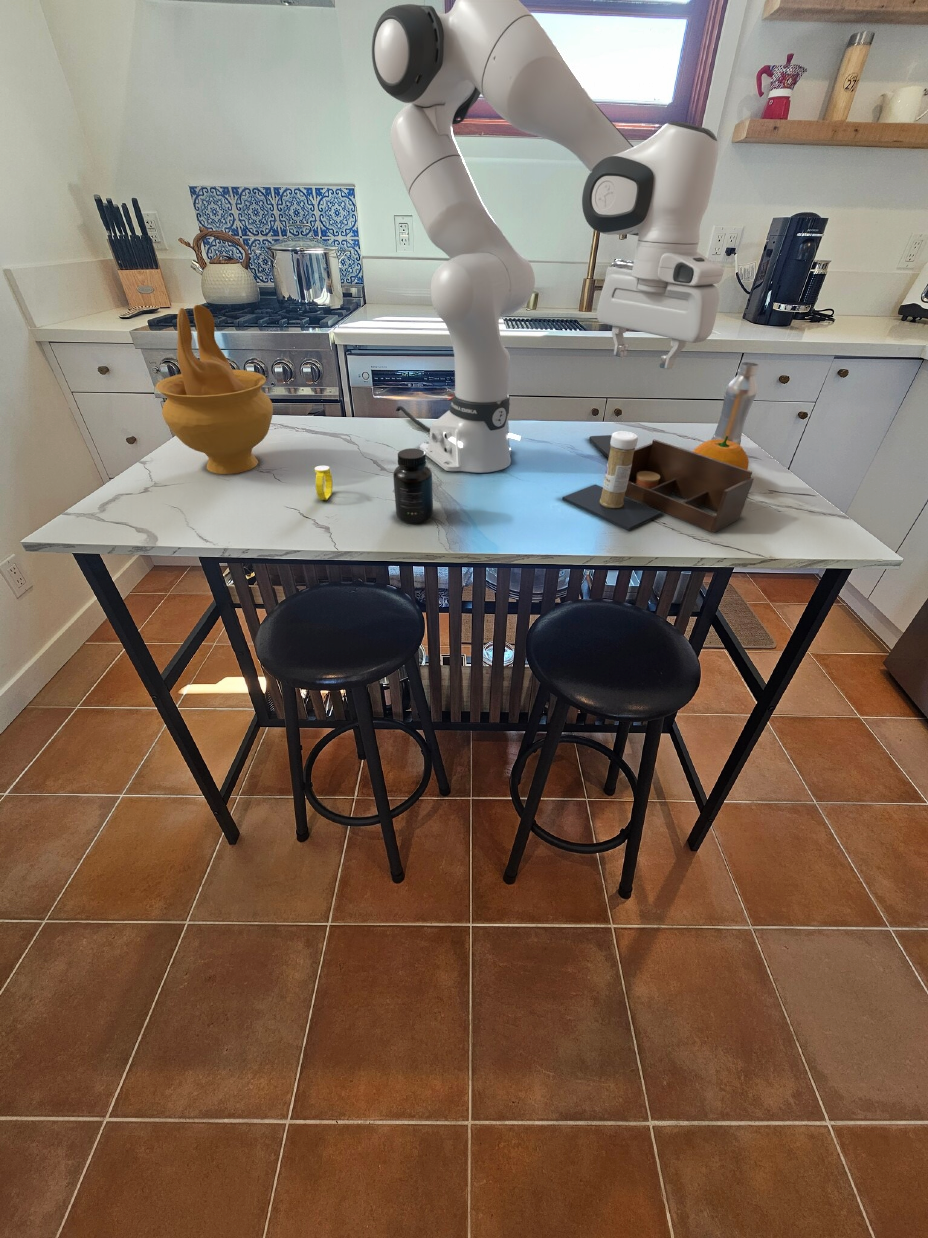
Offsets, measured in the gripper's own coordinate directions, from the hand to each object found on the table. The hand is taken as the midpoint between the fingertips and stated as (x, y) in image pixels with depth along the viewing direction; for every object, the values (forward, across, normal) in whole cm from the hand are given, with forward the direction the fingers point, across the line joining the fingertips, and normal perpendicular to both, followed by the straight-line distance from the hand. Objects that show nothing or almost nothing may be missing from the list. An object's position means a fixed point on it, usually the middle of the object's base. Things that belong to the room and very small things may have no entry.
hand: (642, 361), depth 92 cm
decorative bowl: (+27, -62, -52) cm, 85 cm away
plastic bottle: (+25, 0, +39) cm, 47 cm away
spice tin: (+25, +2, +8) cm, 27 cm away
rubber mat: (+25, +2, -3) cm, 26 cm away
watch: (+26, -35, -44) cm, 62 cm away
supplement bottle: (+26, -18, -35) cm, 47 cm away
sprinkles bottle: (+25, +2, -3) cm, 25 cm away
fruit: (+25, +8, +23) cm, 35 cm away
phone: (+26, -18, +22) cm, 38 cm away
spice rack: (+25, +9, +8) cm, 28 cm away
